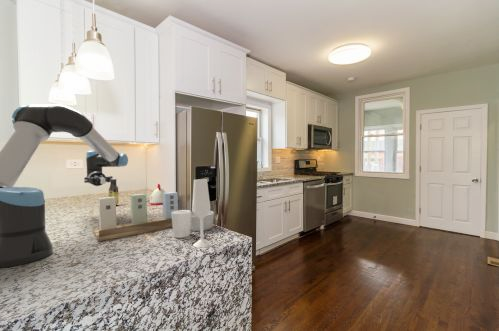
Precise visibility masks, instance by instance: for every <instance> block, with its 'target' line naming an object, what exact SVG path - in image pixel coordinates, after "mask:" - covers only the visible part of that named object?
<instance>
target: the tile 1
mask: <svg viewBox="0 0 499 331" xmlns="http://www.w3.org/2000/svg"><path fill="white" fill-rule="evenodd" d="M98 221H99V222H98V223H99V228H100V230H105V229H111V228H117V222H118V221H117V206H116V197H109V196H107V197H105V196H104V197H98Z"/></svg>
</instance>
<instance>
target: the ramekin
mask: <svg viewBox="0 0 499 331" xmlns="http://www.w3.org/2000/svg"><path fill="white" fill-rule="evenodd" d="M214 218H215V211H213V210H210V211H209V213H208V214H207V215H206V216H205V217H204V218H203V229H204V231H208V230H210V229H212V228H213V225H214ZM190 232H200V218H198V217H197V216H196V215H195V214H194V213H193V211H191V228H190Z"/></svg>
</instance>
